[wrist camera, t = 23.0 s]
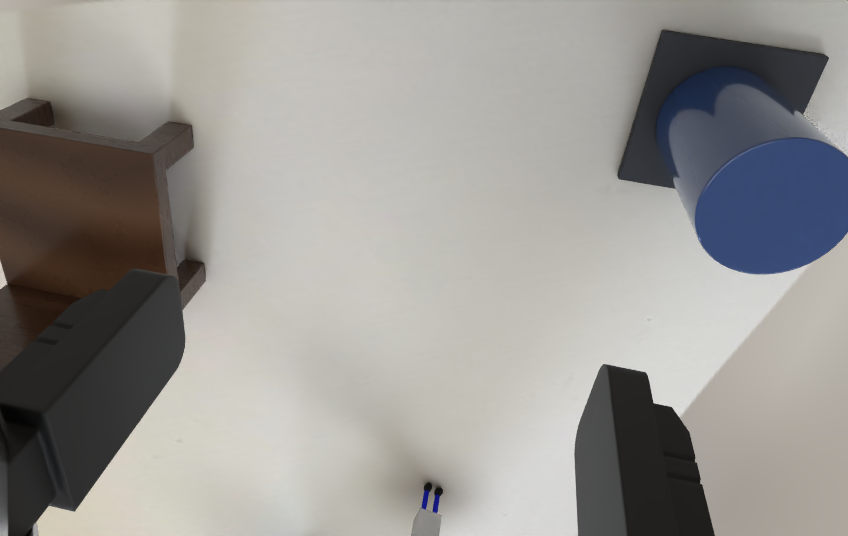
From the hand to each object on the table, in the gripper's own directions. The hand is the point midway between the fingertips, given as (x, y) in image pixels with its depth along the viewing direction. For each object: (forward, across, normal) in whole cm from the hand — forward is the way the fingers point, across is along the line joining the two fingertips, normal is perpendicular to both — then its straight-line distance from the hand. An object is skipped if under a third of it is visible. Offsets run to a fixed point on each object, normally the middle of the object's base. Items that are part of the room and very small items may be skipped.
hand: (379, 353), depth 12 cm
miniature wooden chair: (+25, +22, +14) cm, 36 cm away
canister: (+25, -13, +2) cm, 28 cm away
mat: (+26, -13, +2) cm, 29 cm away
